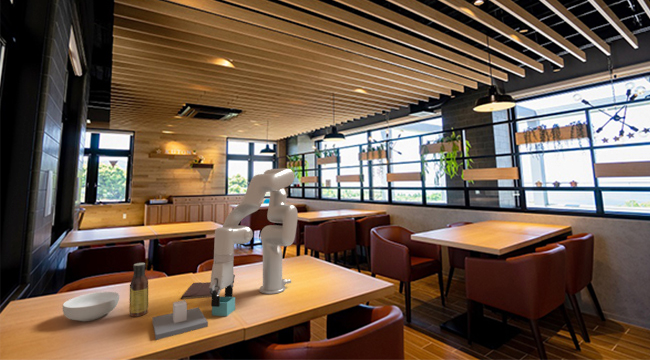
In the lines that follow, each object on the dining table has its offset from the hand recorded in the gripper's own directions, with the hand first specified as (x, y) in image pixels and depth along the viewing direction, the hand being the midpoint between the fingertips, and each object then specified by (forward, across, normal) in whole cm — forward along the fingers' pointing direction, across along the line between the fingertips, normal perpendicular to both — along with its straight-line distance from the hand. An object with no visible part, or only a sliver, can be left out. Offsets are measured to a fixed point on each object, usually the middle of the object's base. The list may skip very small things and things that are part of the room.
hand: (222, 301), depth 112 cm
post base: (+5, +11, -10) cm, 16 cm away
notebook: (+5, -23, -23) cm, 33 cm away
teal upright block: (+4, -1, 0) cm, 5 cm away
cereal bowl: (+6, +11, -48) cm, 50 cm away
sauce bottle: (+5, +6, -32) cm, 33 cm away
